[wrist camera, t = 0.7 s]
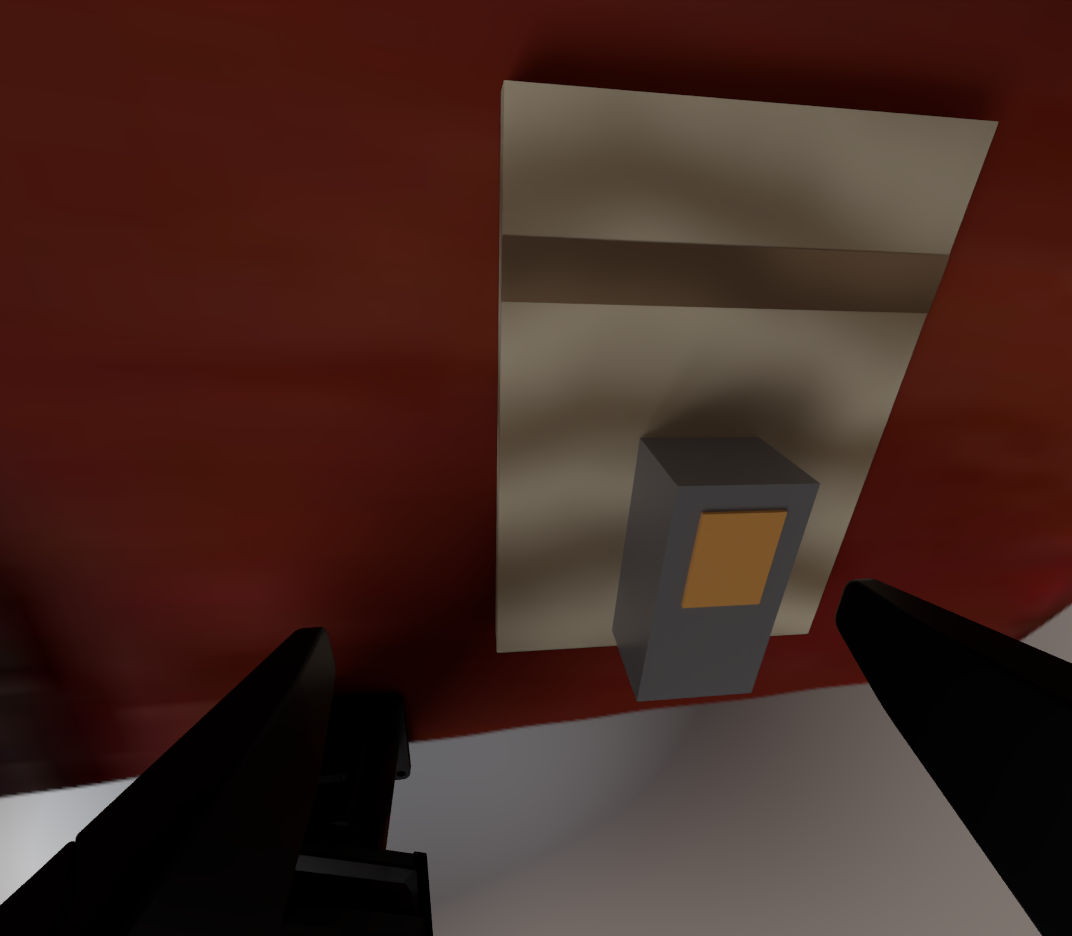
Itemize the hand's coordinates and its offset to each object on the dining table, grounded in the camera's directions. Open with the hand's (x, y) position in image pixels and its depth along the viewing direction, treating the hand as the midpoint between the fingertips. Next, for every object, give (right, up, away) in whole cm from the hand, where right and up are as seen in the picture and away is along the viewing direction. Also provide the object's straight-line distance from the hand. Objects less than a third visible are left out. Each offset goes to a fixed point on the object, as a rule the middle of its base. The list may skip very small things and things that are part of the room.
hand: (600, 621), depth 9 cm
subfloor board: (+5, +4, +13) cm, 15 cm away
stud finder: (+5, -1, +14) cm, 15 cm away
